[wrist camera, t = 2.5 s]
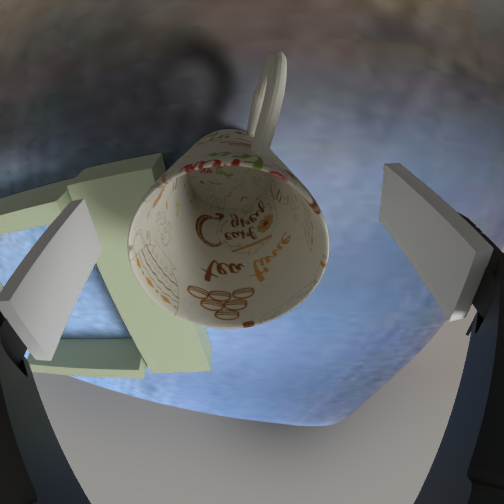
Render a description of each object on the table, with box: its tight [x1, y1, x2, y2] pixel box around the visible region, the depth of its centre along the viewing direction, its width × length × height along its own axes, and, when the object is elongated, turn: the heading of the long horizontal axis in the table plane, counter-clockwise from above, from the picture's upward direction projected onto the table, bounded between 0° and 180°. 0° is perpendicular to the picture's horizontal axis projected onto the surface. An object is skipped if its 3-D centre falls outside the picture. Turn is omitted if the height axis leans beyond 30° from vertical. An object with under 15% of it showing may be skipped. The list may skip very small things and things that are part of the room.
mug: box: [127, 51, 329, 329], centre depth 16 cm, size 8×13×10 cm, turn 166°
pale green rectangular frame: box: [0, 153, 211, 378], centre depth 24 cm, size 20×22×4 cm
